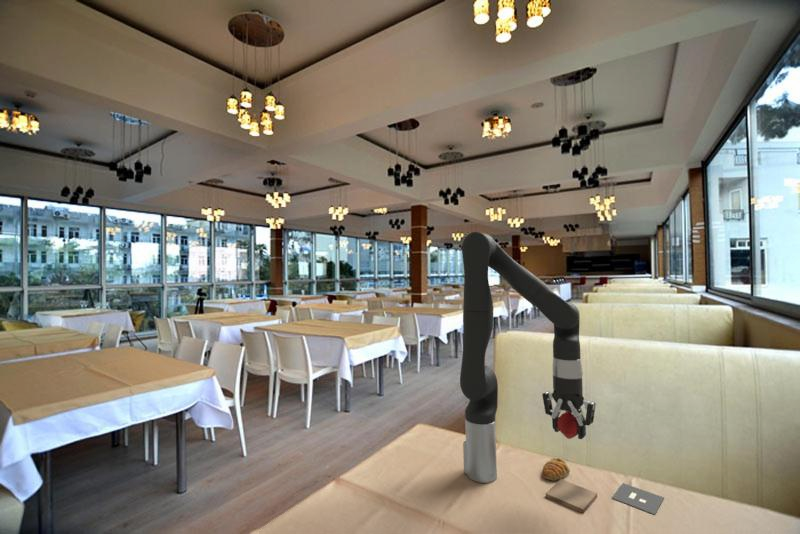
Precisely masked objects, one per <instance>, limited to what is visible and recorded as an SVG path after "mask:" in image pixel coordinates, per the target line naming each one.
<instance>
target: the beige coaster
mask: <svg viewBox="0 0 800 534" xmlns="http://www.w3.org/2000/svg"><path fill="white" fill-rule="evenodd" d="M545 498H547V499H550V500H551V501H553V502H556V503H559V504H561V505H563V506H566V507H568V508H570V509H573V510H574V511H577V512H579V513H582V514H584V513H585V512H586V511H587V510H588V509H589V507H590V506H591V505H592V504H593V503H594V501H595V500H596V499H597V498H598V493H597V492H596V491H593V490H590V489H587V488H585V487H583V486H580V485H577V484H574V483H572V482H569V481H567V480H564V479H560V480H557V482H556V483H555V484H554V485H553V486H552V487H551V488H550V489H549V490H547V491H546V493H545Z"/></svg>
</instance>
